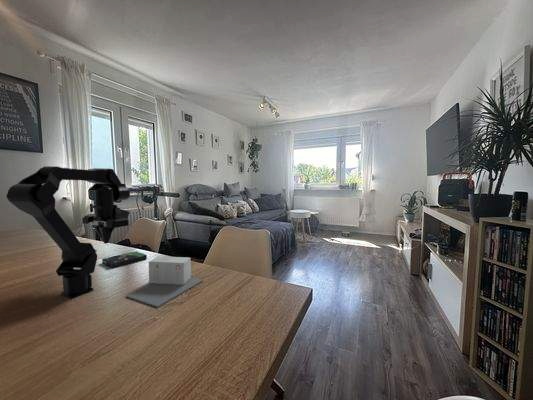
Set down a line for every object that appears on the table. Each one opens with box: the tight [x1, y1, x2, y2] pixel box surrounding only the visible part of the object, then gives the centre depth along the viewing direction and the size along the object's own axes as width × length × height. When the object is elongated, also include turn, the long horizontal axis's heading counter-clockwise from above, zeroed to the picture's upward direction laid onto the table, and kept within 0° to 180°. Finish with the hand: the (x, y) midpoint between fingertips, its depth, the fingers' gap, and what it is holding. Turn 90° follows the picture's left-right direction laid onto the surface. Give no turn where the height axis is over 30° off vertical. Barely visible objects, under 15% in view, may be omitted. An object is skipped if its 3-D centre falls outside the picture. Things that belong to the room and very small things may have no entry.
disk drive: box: [101, 251, 148, 270], centre depth 105 cm, size 10×3×15 cm
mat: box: [125, 277, 204, 309], centre depth 80 cm, size 20×14×1 cm
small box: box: [148, 255, 192, 285], centre depth 85 cm, size 8×6×13 cm
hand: (106, 243), depth 88 cm, fingers closed
